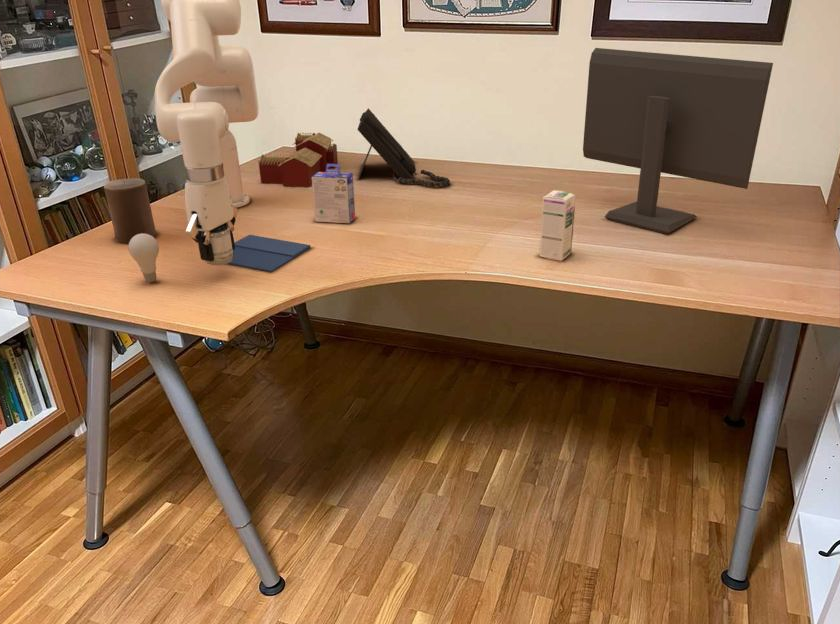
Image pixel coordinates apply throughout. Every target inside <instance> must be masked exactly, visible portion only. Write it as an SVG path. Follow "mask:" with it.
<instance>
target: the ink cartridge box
mask: <svg viewBox="0 0 840 624" xmlns="http://www.w3.org/2000/svg"><path fill="white" fill-rule="evenodd" d="M333 166H334V167H335V168H336V169H330V168H329V167H333ZM340 171H341V164H340V163H338V164H327V167H326V172H317V173H316V174H315V175H314V176H312V185H311V187H312V198H313V199H312V200H313V209H314V211H313V212H314V222H317V223H318V222H319V223H335V224H336V223H338V224H350V223H352V221H354V220H355V219H356V206H355V205H356V204H355V189H354V187H355V186H354V173H353V172H342V171H341V172H340Z"/></svg>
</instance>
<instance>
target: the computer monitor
mask: <svg viewBox="0 0 840 624" xmlns="http://www.w3.org/2000/svg"><path fill="white" fill-rule="evenodd" d="M773 67H774V62H766V61H758V60H757V61H755V60H746V59H745V60H743V59H733V58H719V57H708V56H696V55H685V54H675V53H662V52H652V51H651V52H649V51H639V50H638V51H637V50H626V49H615V48H603V47H602V48H601V47H595V48H594V49H593V50H592V52H591V55H590V58H589V65H588V77H587V91H586V104H585V117H584V127H583V129H584V130H583V142H582V154H583V155H582V156H583V157H584V158H585V159H589V160H594V161H599V162H604V163H610V164H616V165H620V166H626V167H629V168H635V169H640V171H639V178H638V179H639V180H638V187H637V188H638V189H637V199H636V201H634V202H631V203H628V204H624V205H623V206H620V207H616V208H614V209H611V210H609V211H608V212H607V213H606V214H605V215H604V217H605V218H606V219H607V220H609V221H613V222H616V223H621V224H625V225H629V226H633V227H637V228H642V229H645V230H649V231H653V232H657V233H662V234H665V235H668V234H670V233H671V232H673V231H675V230H677V229H679V228H680V227H683V226H684V225H686V224H687V223H689V222H691V221H692V220H694V219H696V218H698V216H697V215H696V214H693V213H690V212H685V211H681V210H677V209H673V208H668V207H663V206H659V205H658V198H659V191H660V182H661V174H668V175H672V176H677V177H683V178H688V179H692V180H698V181H702V182H703V181H704V182H709V183H713V184H719V185H724V186H730V187H734V188H739V189H744V190H748V187H749V183H750V178H751V173H752V169H753V163H754V159H755V153H756V149H757V144H758V139H759V134H760V131H761V124H762V120H763V114H764V110H765V105H766V101H767V95H768V91H769V84H770V80H771V76H772V71H773Z"/></svg>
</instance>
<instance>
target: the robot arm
mask: <svg viewBox="0 0 840 624" xmlns="http://www.w3.org/2000/svg"><path fill="white" fill-rule="evenodd" d="M160 5H161V8H162V11H163V13H164V15H165V17H166V18H167V20H168V21H169V22H170V31H171V42H172V43H171V44H172V53H173V58H172V60H171V61H170V62H169V63H168V64H167V65H166V66H165V67H164V69H163V70H162V72H161V74H160V75H159V77H158V79H157V82H156V85H155V88H154V108H155V109H154V110H155V119H156V120H155V121H156V127H157V131H158V133H159V135H160V136H161V138H162V139H164V140H165V141H168V142H179V143H180V148H181V153H182V159H183V165H184V170H185V176H186V181H187V182H185V183H184V204H185V205H184V206H185V215H186V220H187V227H186V229H185V234H186V235H187V236H189V237H190V238H191V240H193V241H194V242H195V244H197V245H198V250H199V256H200V260H202V261H205V262H206V261H211V262H212V261H214V255H213V249H212V244H211V243H209V239H210V230H212V229H214V228H216V227H218V226H220V225H223V224H224V225H226V226H228V228H229V229H230V236H231V243H232V249H233V250H234V249H235V244H234V243H235V238H234V231H235V224H236V221H237V220H236V219H237V217H238V214H239V209H238V208H242V207H244V206H247V205H248V204H250V201H251V200H250V196H249V195H248V194H247V193H244V188H243V182H242V174H241V167H240V160H239V152H238V145H237V140H236V137H235V135H234V134H233V132H231V130H230V129H229V128H230V124H233V123H249V122H250V123H251V122H253V121H255V120H256V119H257V118H258V116H259V98H258V91H257V85H256V78H255V70H254V64H253V60H252V56H251V53H250V52H249V50H248V49H247V48H246V47H244V46H242V45H220V41H219V36H235V35H237V34H239V32H240V29H241V23H242V22H241V21H242V20H241V19H242V8H241V1H240V0H160ZM191 83H194V84H195V85H197V86H199V87H197V88H195V89H193V90H192V91H191V92H190V95H189V102H176V103H175V102H173V103H171V100H172V98H173V96H174V95H175V94H176V93H177V92H178V91H179V90H181V89H182V88H185V86H187V85H190V84H191ZM202 232H204V237H203V236H201V235H202Z"/></svg>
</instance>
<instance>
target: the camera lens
mask: <svg viewBox="0 0 840 624" xmlns="http://www.w3.org/2000/svg"><path fill="white" fill-rule="evenodd" d="M201 236H203V237H204V232H202V235H201ZM209 243H211V244H212V249H213V255H214V261H212V262H211V261H206V260H205V263H206V264H207V265H209V266H223V265H224V266H225V265H228V264H227V263H229V262H231V261H232V259H233V258H232V256H233V249H232V243H231V236H230V229H229V228H228V226H226V225H224V224H223V225H220V226H218V227H216V228H214V229H212V230H210V239H209Z"/></svg>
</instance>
